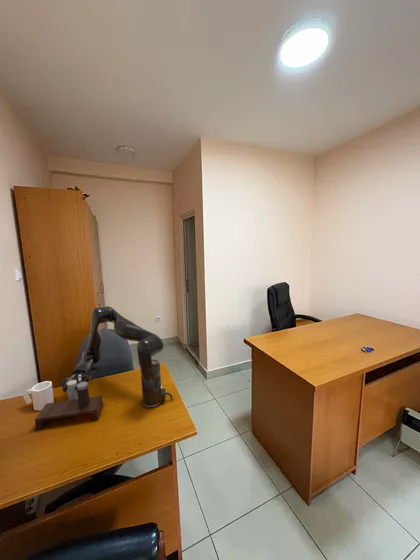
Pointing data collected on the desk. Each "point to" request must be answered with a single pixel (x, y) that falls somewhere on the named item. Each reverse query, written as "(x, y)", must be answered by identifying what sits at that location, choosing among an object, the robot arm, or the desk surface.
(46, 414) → the desk shelf
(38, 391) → the mug
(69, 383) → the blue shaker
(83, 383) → the dark shaker
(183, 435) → the desk surface
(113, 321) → the robot arm
